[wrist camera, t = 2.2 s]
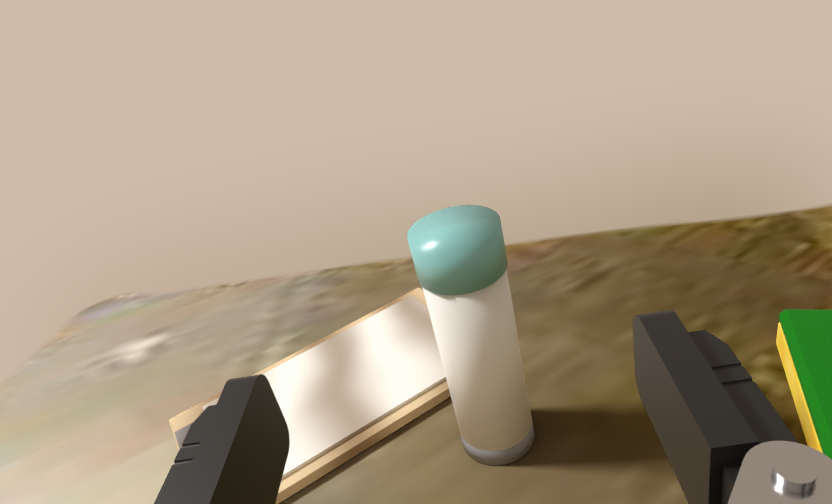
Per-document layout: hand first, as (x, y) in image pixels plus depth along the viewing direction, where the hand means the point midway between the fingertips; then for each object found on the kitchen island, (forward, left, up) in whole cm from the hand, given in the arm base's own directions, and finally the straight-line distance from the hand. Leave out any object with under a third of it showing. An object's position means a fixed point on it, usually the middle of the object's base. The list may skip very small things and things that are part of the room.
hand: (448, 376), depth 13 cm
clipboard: (-1, -18, -14) cm, 23 cm away
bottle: (-6, -9, -14) cm, 18 cm away
